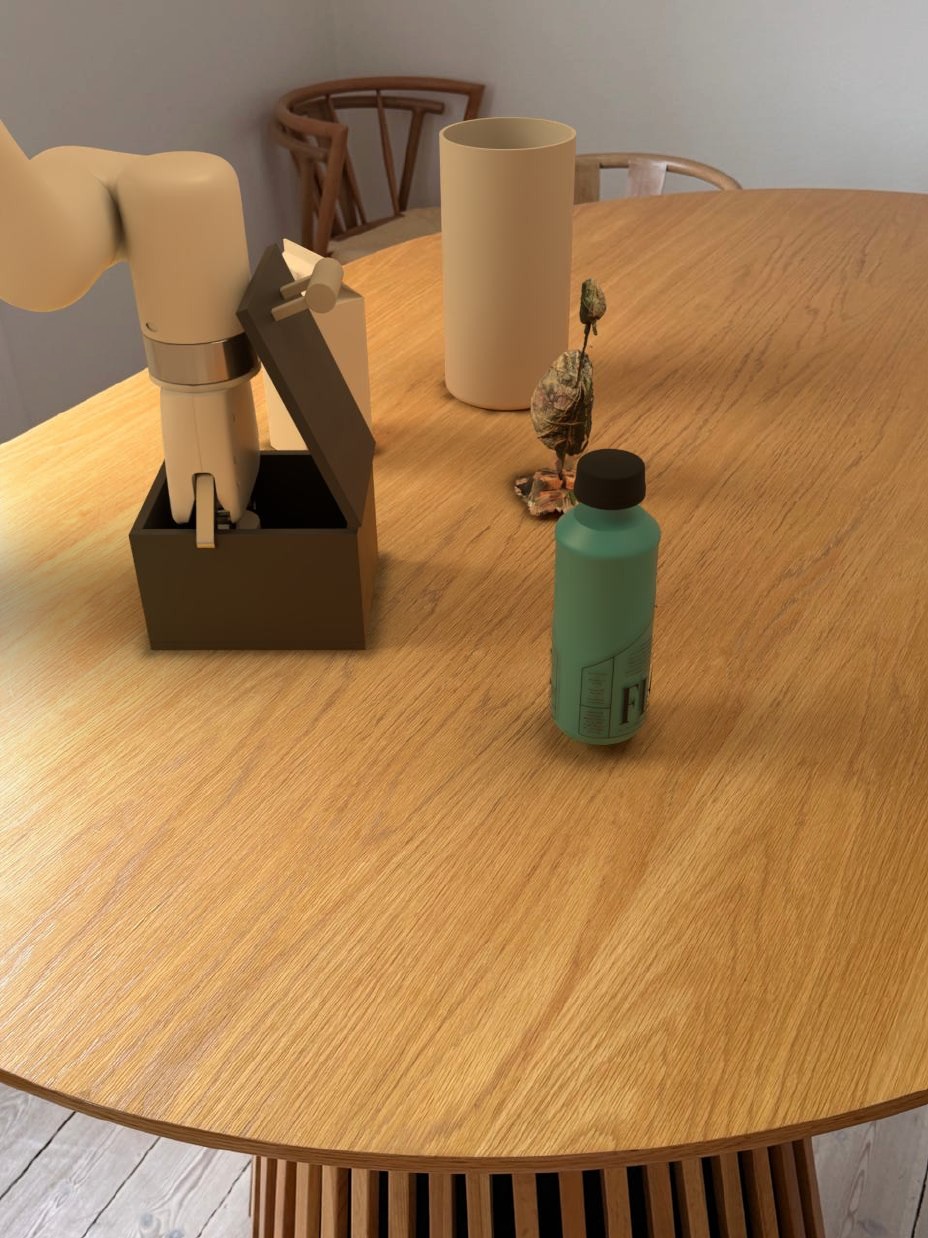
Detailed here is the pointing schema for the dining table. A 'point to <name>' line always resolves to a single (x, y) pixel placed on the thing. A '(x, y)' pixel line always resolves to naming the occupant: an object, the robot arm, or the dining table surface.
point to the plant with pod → (564, 415)
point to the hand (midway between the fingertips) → (236, 576)
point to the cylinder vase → (505, 255)
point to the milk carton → (343, 340)
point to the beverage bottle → (604, 602)
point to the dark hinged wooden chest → (259, 568)
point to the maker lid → (310, 372)
